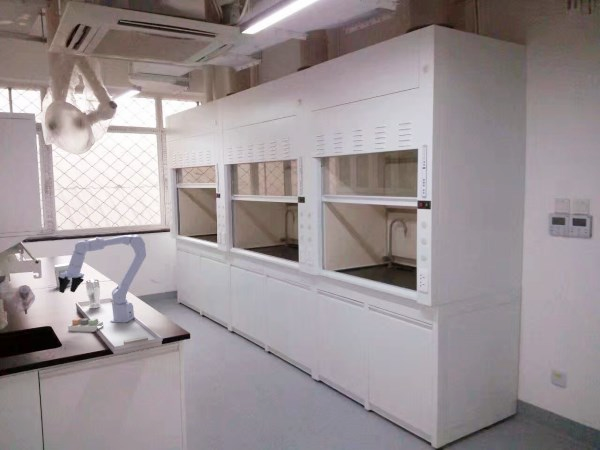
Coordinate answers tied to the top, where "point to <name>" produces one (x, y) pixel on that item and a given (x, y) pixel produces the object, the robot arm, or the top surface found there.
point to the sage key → (93, 321)
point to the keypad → (84, 327)
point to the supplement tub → (61, 269)
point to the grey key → (84, 321)
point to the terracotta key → (76, 321)
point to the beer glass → (93, 293)
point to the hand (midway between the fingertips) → (66, 292)
